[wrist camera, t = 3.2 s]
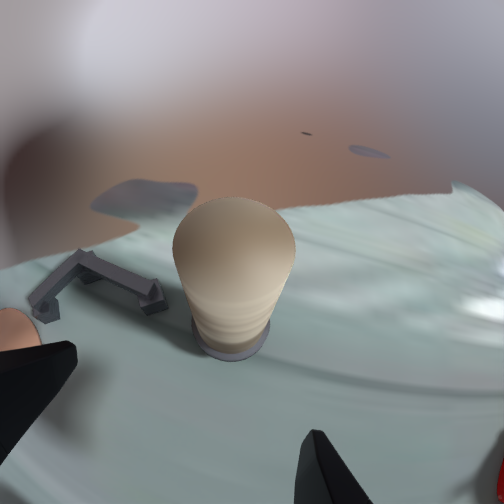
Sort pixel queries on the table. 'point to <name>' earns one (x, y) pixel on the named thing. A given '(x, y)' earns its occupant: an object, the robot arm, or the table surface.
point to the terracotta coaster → (17, 330)
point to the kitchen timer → (501, 484)
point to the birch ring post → (232, 273)
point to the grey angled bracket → (90, 271)
